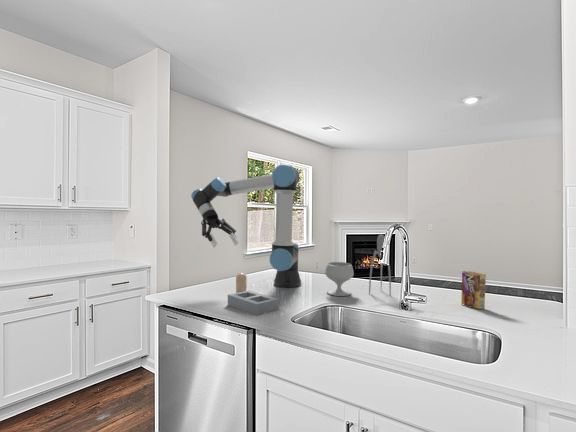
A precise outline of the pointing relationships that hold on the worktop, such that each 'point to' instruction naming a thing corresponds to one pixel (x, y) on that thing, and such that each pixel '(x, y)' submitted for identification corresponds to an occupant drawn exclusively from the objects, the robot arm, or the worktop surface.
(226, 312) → the worktop surface
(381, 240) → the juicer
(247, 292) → the divided tray
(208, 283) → the worktop surface
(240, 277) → the peach dome-topped cylinder
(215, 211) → the robot arm
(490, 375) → the worktop surface
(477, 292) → the candy box
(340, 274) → the chalice
